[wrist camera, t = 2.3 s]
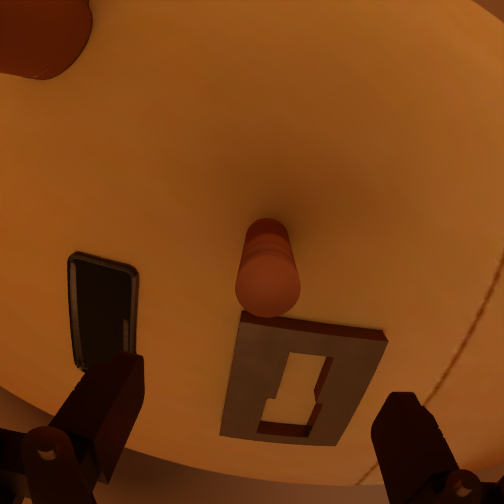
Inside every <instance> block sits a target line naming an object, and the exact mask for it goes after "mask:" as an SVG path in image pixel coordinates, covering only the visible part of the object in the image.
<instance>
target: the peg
mask: <svg viewBox="0 0 504 504" xmlns="http://www.w3.org/2000/svg"><path fill="white" fill-rule="evenodd" d="M300 290H301V286H300V280H299V276H298V272H297V268H296V265H295V261H294V257H293V253H292V249H291V245H290V242H289V238H288V234H287V231H286V229H285V227H284V226H283V225H282V224H281V223H280V222H278V221H276V220H274V219H268V218H266V219H260V220H258V221H256V222H254V223H253V224H252V225H251V226H250V228H249V229H248V231H247V234H246V239H245V243H244V248H243V252H242V257H241V261H240V266H239V271H238V275H237V280H236V285H235V292H236V296H237V299H238V301H239V303H240V304H241V306H242V307H243V308H244V309H245V310H247V311H248V312H249V313H251V314H253V315H256V316H259V317H265V318H271V317H277V316H280V315H282V314H284V313H286V312H288V311H289V310H290V309H291V308H292V307H293V306H294V305H295V304H296V302H297V300H298V298H299V295H300Z"/></svg>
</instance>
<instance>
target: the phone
mask: <svg viewBox="0 0 504 504" xmlns="http://www.w3.org/2000/svg"><path fill="white" fill-rule="evenodd" d="M101 259H102V260H101ZM105 260H106V261H105ZM67 276H68V302H69V317H70V329H71V339H72V348H73V357H74V363H75V365H76V367H77V368H78V369H79V370H81V371H82V372H85V373H86V371H87V370H88V369H89V368H90V367H92V366H93V365H95V364H97V363H98V362H100V361H104V362H107V363H110V362H111V361H112V359H113V358H114V356H115V355H116V353H117V352H118V351H119V350H123V351H126V352H130V353H134V354H136V352H135V348H136V319H137V301H138V286H139V275H138V272H137V270H136V269H135V268H134V267H133V266H131V265H128V264H124V263H120V262H116V261H113V260H109V259H105V258H101V257H97V256H94V255H90V254H86V253H83V252H75V253H73V254H72V255H71V256H69V258H68V261H67Z"/></svg>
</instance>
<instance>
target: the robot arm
mask: <svg viewBox="0 0 504 504" xmlns="http://www.w3.org/2000/svg"><path fill="white" fill-rule="evenodd" d="M91 23H92V17H91V12H90V10H89V7H88V0H0V73H5V74H11V75H17V76H21V77H24V78H32V79H37V80H45V79H49V78H52V77H54V76H56V75H58V74H60V73H61V72H62V71H64V70H65V69H66V68H67V67H68V66H69V65H70V64H72V63H73V61H74V60H75V59H76V58H77V56H78V55H79V54H80V52H81V51H82V49H83V47H84V46H85V44H86V41H87V39H88V37H89V33H90V30H91ZM144 394H145V385H144V358H143V356H141V355H138V354H134V353H130V352H126V351H123V350H119V351H118V352H117V353H116V355H115V356H114V358H113V359H112V361H111V362H110V363H107V362H104V361H100V362H98V363H97V364H95V365H93V366H92V367H90V368H89V369H88V370H87V371H86V373H85V374H84V375H83V377H82V378H81V381H79V382H78V384H77V385H76V387H75V389H74V391H72V392H71V394H70V395H69V396H68V398H67V399H66V401H65V402H64V404H63V405H62V407H61V408H60V409H59V411H58V412H57V414H56V415H55V417H54V418H53V420H52V421H51V422H50V424H49V425H48V426H39V427H36V428H33V429H31V430H30V431H29V432H28V433H20V432H16V431H11V430H7V429H2V428H0V504H22V502H23V500H24V498H25V497H26V498H30V499H31V500H32V504H97V502H96V499H95V497H94V494H93V489H94V487H95V485H96V482H97V481H99V482H102V483H105V484H107V485H108V484H109V481H110V479H111V477H112V474H113V472H114V470H115V467H116V465H117V462H118V460H119V458H120V455H121V453H122V451H123V449H124V446H125V444H126V442H127V439H128V437H129V435H130V432H131V430H132V428H133V426H134V423H135V421H136V419H137V417H138V414H139V412H140V410H141V407H142V404H143V400H144ZM438 427H439V426H438V424H437V422H436V420H435V418H434V416H433V415H432V414H431V413H430V412H429V411H428V410H427V409H426V408H425V407H424V406H421V405H420V403H419V401H418V399H417V397H416V395H415V394H414V393H413V392H391V393H390V394H389V396H388V397H387V399H386V401H385V403H384V405H383V406H382V408H381V410H380V412H379V413H378V415H377V417H376V418H375V420H374V422H373V424H372V428H371V439H372V442H373V446H374V449H375V453H376V456H377V459H378V463H379V466H380V470H381V473H382V477H383V480H384V484H385V488H386V491H387V495H388V499H389V502H390V504H504V476H503V477H502V478H501V479H500V480H499V481H498V482H497V483H494V482H481V481H480V479H479V478H478V477H477V475H475V474H474V473H473V472H471V471H469V470H466V469H459V467H458V465H457V463H456V461H455V458H454V456H453V454H452V452H451V450H450V448H449V446H448V444H447V442H446V440H445V438H444V437H443V434H442V432H441V430H440V429H438Z"/></svg>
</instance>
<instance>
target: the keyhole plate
mask: <svg viewBox="0 0 504 504" xmlns="http://www.w3.org/2000/svg"><path fill="white" fill-rule="evenodd" d="M388 342H389V341H388V340H387V338H386V336H385V334H384V333H383V331H382V330H373V329H364V328H356V327H348V326H340V325H332V324H325V323H317V322H310V321H303V320H297V319H290V318H283V317H271V318H265V317H259V316H256V315H253V314H251V313H249V312H247V311H242V312H241V318H240V323H239V328H238V334H237V339H236V345H235V350H234V356H233V361H232V367H231V372H230V378H229V383H228V389H227V394H226V400H225V405H224V411H223V416H222V422H221V428H220V434H219V435H220V436H226V437H232V438H239V439H246V440H254V441H263V442H272V443H283V444H296V445H315V446H336V445H337V443H338V441H339V440H340V438H341V436H342V434H343V433H344V431H345V429H346V427H347V426H348V424H349V422H350V420H351V418H352V416H353V415H354V413H355V411H356V409H357V407H358V405H359V403H360V401H361V399H362V397H363V395H364V393H365V391H366V389H367V387H368V385H369V383H370V381H371V379H372V377H373V375H374V373H375V371H376V369H377V366H378V364H379V362H380V360H381V358H382V355H383V353H384V351H385V349H386V346H387V344H388ZM289 352H294V353H302V354H310V355H318V356H327V357H326V360H325V363H324V365H323V368H322V371H321V373H320V376H319V378H318V381H317V384H316V386H315V389H314V394H315V400H316V405H315V407H314V409H313V412H312V414H311V416H310V418H309V421H308V423H307V425H306V426H305V425H292V424H281V423H272V422H263V421H260V419H261V416H262V413H263V409H264V406H265V403H266V399H267V398H272V399H275V398H276V395H277V392H278V388H279V385H280V382H281V379H282V375H283V372H284V369H285V365H286V362H287V359H288V355H289Z"/></svg>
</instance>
